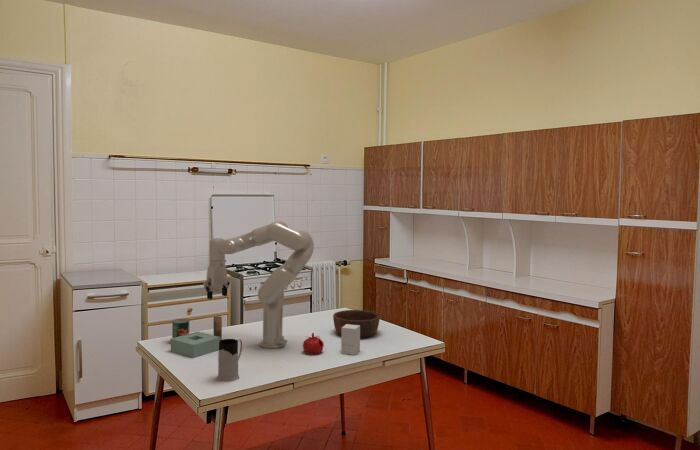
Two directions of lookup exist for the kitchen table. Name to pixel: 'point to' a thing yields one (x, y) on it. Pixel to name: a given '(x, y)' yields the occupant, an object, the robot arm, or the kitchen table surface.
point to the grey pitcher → (228, 360)
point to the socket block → (195, 344)
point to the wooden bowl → (357, 321)
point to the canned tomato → (180, 327)
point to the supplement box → (350, 339)
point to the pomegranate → (313, 345)
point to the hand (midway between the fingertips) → (217, 297)
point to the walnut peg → (218, 327)
